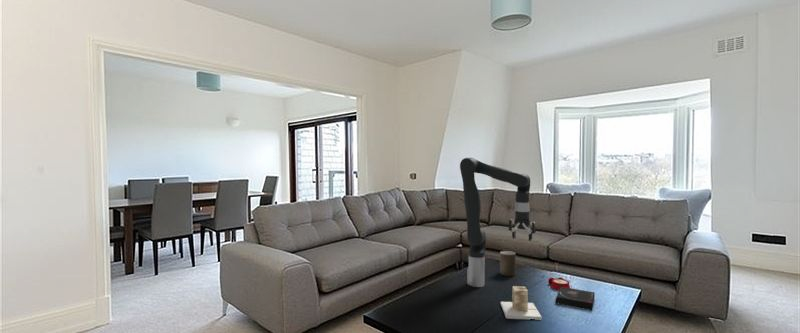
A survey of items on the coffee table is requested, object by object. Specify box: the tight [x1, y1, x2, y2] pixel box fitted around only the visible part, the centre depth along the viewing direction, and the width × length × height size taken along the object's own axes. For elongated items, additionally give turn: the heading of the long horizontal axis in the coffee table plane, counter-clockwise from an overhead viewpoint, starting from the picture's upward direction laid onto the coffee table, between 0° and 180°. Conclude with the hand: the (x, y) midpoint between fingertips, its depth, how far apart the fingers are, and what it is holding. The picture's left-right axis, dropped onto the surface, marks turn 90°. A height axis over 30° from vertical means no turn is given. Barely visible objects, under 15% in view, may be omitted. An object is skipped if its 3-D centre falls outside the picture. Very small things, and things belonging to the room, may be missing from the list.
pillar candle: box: [499, 250, 517, 277], centre depth 235 cm, size 10×10×15 cm
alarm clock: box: [547, 277, 573, 291], centre depth 212 cm, size 10×6×15 cm
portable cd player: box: [554, 287, 596, 311], centre depth 191 cm, size 16×17×4 cm
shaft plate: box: [500, 301, 543, 321], centre depth 178 cm, size 16×16×8 cm
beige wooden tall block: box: [511, 285, 529, 312], centre depth 178 cm, size 6×6×10 cm
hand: (522, 239), depth 201 cm, fingers open, 8 cm apart
